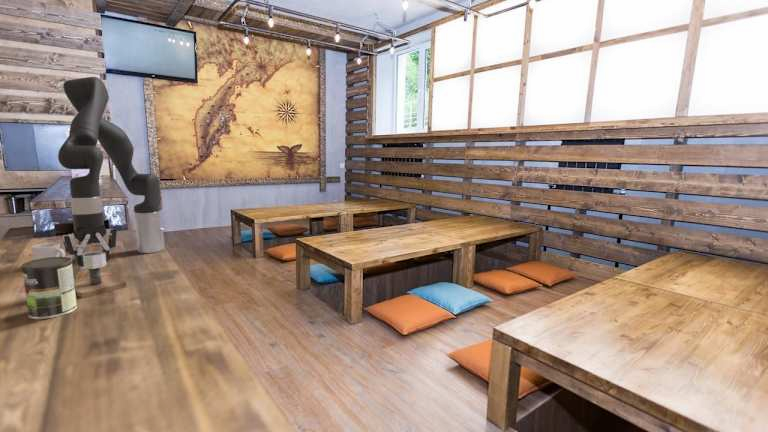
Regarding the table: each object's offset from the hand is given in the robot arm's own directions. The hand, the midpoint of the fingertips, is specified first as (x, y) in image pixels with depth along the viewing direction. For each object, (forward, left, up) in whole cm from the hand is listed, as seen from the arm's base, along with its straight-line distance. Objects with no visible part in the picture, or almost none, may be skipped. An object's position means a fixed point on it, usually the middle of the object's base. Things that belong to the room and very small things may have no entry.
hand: (93, 263), depth 121 cm
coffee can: (+14, +11, -8) cm, 20 cm away
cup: (0, -39, -8) cm, 40 cm away
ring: (0, 0, -1) cm, 1 cm away
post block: (0, 0, -8) cm, 8 cm away
